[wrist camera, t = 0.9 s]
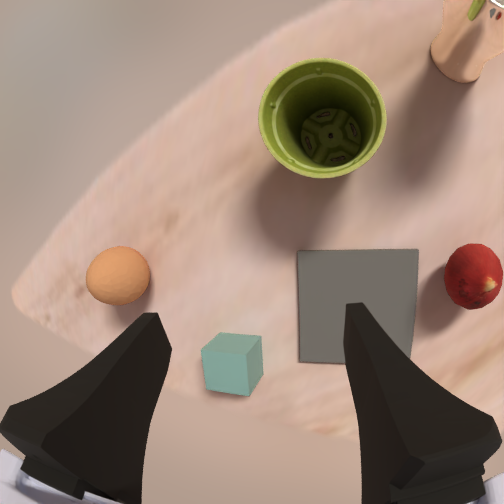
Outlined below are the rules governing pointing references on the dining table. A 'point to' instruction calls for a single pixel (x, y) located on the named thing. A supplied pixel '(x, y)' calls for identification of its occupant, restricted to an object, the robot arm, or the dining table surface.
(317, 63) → the plant pot
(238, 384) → the cube
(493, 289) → the onion
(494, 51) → the beer glass
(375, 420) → the robot arm
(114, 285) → the egg
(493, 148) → the dining table surface
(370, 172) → the dining table surface
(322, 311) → the mat
